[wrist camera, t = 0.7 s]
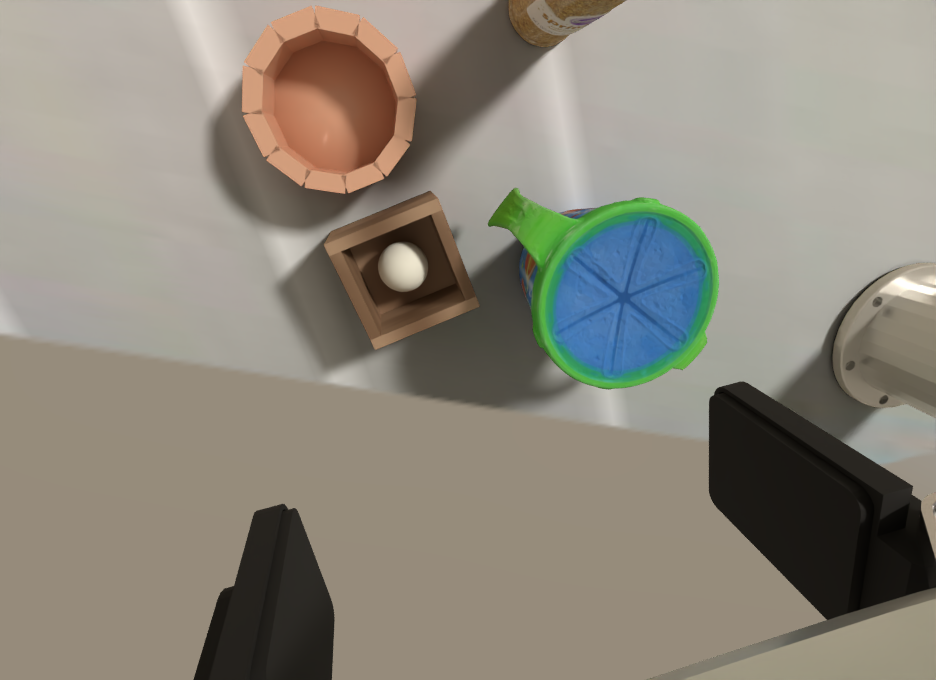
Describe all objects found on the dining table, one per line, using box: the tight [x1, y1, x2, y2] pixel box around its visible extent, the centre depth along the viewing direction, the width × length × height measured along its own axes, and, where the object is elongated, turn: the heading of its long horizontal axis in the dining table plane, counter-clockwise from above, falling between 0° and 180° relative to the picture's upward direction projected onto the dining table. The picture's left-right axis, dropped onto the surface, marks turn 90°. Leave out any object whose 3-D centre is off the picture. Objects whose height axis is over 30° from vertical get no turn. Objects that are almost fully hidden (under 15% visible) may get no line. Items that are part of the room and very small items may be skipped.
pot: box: [242, 6, 417, 194], centre depth 30 cm, size 9×9×4 cm
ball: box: [378, 242, 428, 292], centre depth 34 cm, size 3×3×3 cm
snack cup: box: [488, 188, 719, 389], centre depth 33 cm, size 16×10×10 cm
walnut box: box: [324, 191, 480, 350], centre depth 34 cm, size 7×7×5 cm
